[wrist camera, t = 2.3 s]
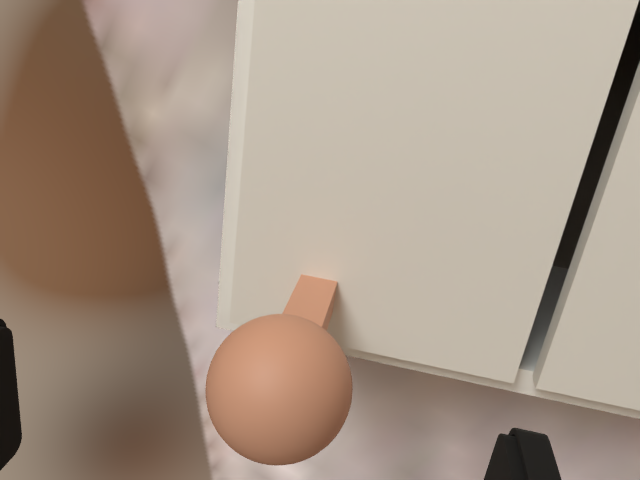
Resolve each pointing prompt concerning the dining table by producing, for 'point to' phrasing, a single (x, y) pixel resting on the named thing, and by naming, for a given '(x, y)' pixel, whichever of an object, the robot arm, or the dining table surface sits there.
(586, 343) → the flap
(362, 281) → the flap
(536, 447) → the robot arm
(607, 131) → the carton
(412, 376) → the dining table surface
